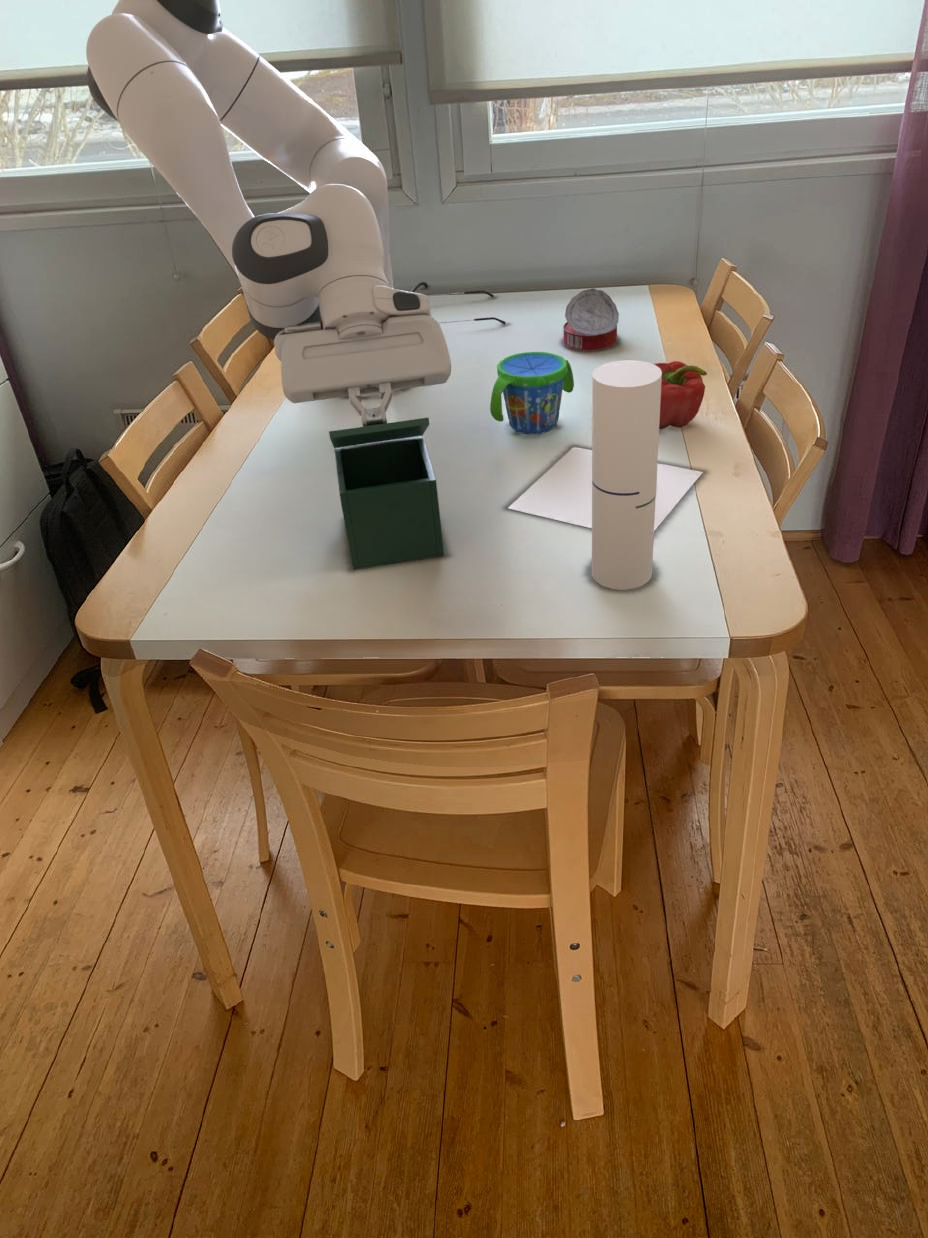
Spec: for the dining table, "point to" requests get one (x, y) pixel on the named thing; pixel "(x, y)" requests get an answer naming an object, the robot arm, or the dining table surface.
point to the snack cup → (531, 390)
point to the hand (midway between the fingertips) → (375, 425)
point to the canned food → (591, 321)
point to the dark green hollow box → (389, 502)
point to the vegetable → (680, 393)
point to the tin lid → (378, 432)
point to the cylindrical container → (624, 471)
